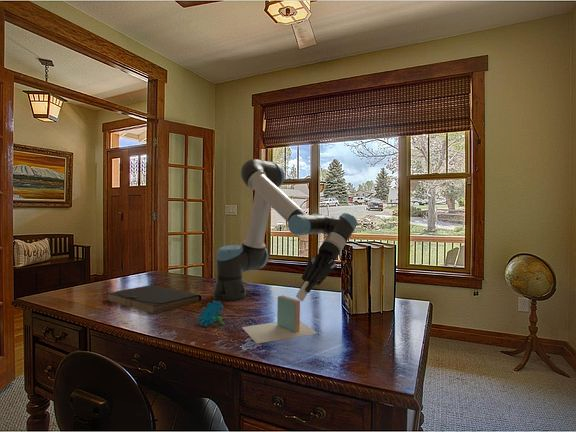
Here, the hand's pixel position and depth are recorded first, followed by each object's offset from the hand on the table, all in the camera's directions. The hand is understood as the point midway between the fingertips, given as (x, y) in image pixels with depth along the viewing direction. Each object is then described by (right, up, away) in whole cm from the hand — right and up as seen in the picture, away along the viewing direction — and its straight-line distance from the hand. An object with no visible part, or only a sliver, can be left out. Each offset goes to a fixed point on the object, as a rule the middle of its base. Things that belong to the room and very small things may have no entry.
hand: (299, 298), depth 113 cm
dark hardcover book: (-63, -9, +31) cm, 70 cm away
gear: (-31, -10, +2) cm, 32 cm away
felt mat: (-7, -10, -4) cm, 13 cm away
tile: (-4, -9, -2) cm, 10 cm away
